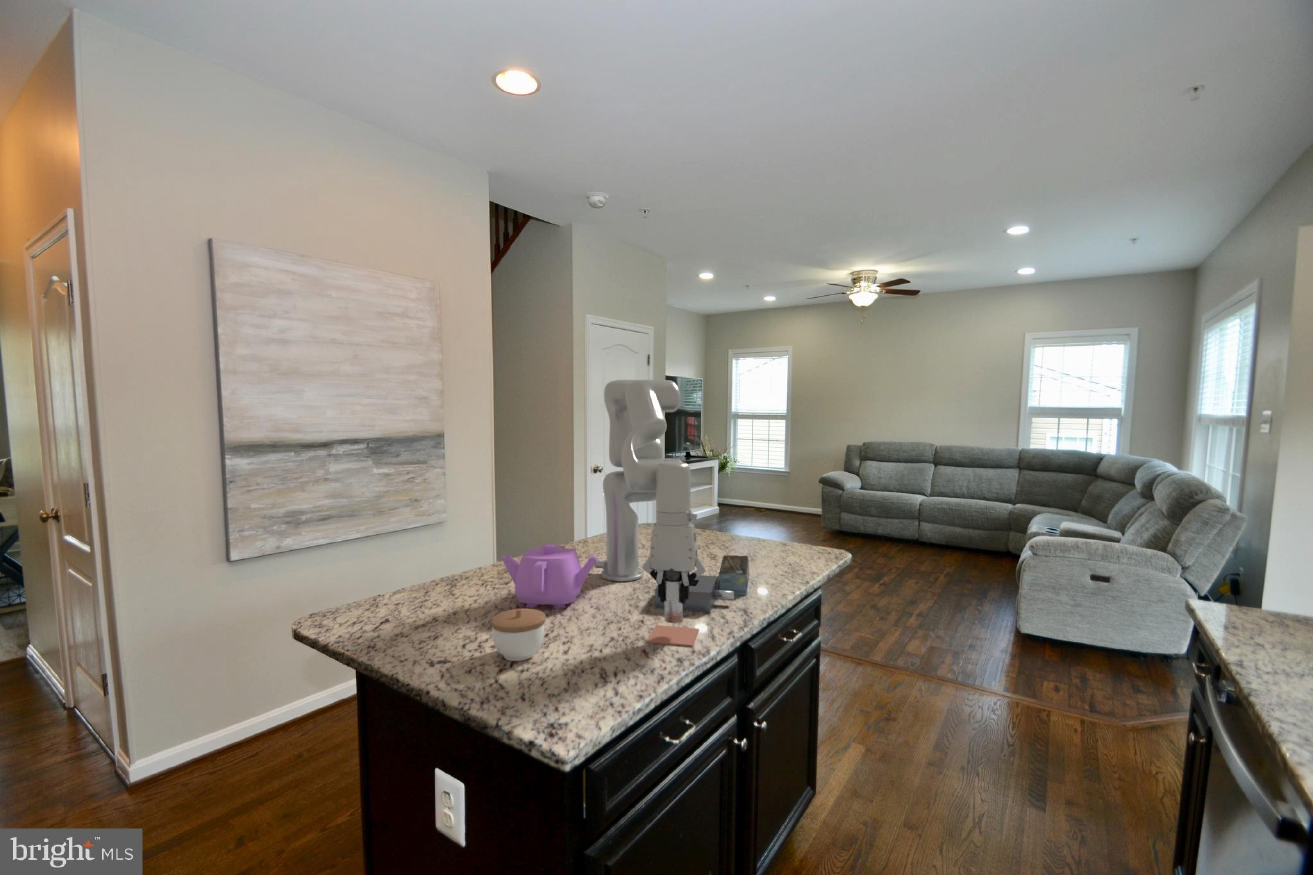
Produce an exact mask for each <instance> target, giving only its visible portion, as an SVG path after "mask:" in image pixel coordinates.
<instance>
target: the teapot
mask: <svg viewBox="0 0 1313 875" xmlns="http://www.w3.org/2000/svg"><path fill="white" fill-rule="evenodd" d="M579 558H580V557H579V555H578V552H577V550H576V549H574V548H569V547H565V545H557V544H555V543H545V544H542V547H534V548H531V549H529V550H528V551H527V552H525V553H524V554H523V555H522V556H521V558H520V561H519V562H517V561H516V560H515V558H513V557H512V555H511V554H510V555H503V556H502V557H501V560H502V562H503V564H504V566H505V568H506V569H507V571H508V574H509V575H510V578H511V579H512V582H513V583H514V586H515V587H514V593H515V597H516V599H517V602H519V603H523V604H526V609H535V608H537V607H538V606H539V605H548V606H549V605H553V608H554V609H556V610H561V609H565V608H566V607H567V606H566V605H568V604H570V603H572V602H574V601H575V599H576V598H577V597H578V596H579V594H580V592H581V591H582V590H581V589H582V587H583V584H584V582H585V580H586V579H587V577H588V575H589V574H590V572H591V571H592V568H593V567H594V564H595V562H596V560H598V557H596V556H589V557H588V560H587V561H586V563H584V565H583V567H582V565H581V562H580V559H579Z"/></svg>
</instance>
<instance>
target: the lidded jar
mask: <svg viewBox="0 0 1313 875" xmlns="http://www.w3.org/2000/svg"><path fill="white" fill-rule="evenodd" d="M490 623H491V629H492V630H491V631H492V632H491V633H492V639H493V644H494V647H495V648H496V650H497V652H498V653H499V654H500V655H502V656H503V658H504V659H505V660H507V661H510V662H520V661H525V660H528V659H530V658H532V657H533V656H535V654H536V652H537V651H538V650H539V648H540V647H541V646H542V643H543V641H544V639H545V632H546V631H545V630H546V614H545V613H544V612H543V611H541V610H539V609H535V608H515V609H509V610H505V611H501V612H499V613H497V614H496V615H494V616H493V617H492V618H491V622H490Z"/></svg>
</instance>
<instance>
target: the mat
mask: <svg viewBox="0 0 1313 875" xmlns="http://www.w3.org/2000/svg"><path fill="white" fill-rule="evenodd" d="M699 632H700V628H696V627H695V628H694V627H693V628H692V627H685V626H684V627H682V626H670V625H660V624H656V625H655V626H654V628H653V630H652V631H651V632H650V634H649V636H648V637H647V639H646V643H647V644H648V643H649V644H656V645H657V644H661V645H668V644H670V646H678V645H679V647H689V648H690V647H691V648H692V647H694V644H695V642H696V639H697V636H698V634H699Z"/></svg>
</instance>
